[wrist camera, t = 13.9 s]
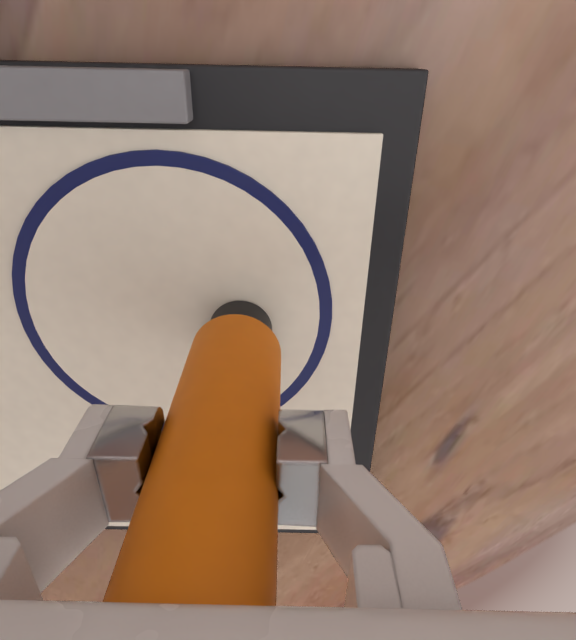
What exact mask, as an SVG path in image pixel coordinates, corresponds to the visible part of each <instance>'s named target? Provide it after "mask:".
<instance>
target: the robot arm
mask: <svg viewBox="0 0 576 640" xmlns="http://www.w3.org/2000/svg"><path fill="white" fill-rule="evenodd" d="M164 422H165V419H164V413H163V409H162V408H161V407H155V406H132V405H101V404H93V405H91V406H90V407H89V408H88V409H87V410H86V412H85V414H84V415H83V417H82V419H81V420H80V422H79V424H78V425H77V427H76V429H75V430H74V432H73V434H72V436H71V437H70V439H69V441H68V442H67V444H66V446H65V447H64V449H63V451H62V452H61V454H60V456H59V457H58V458H50V459H49V460H47V461H46V462H44V463H42V464H41V465H39V466H38V467H36V468H35V469H33V470H31V471H30V472H28V473H27V474H25V475H24V476H22V477H21V478H19V479H17V480H16V481H14V482H13V483H11V484H10V485H8V486H6V487H5V488H3V489H2V490H0V640H576V613H573V612H571V613H570V612H528V611H485V610H483V611H482V610H462V607H461V604H460V600H459V597H458V594H457V590H456V587H455V584H454V581H453V577H452V574H451V571H450V567H449V564H448V561H447V558H446V554H445V551H444V548H443V545H442V544H441V543H440V542H439V541H438V540H437V539H436V538H435V537H434V536H433V535H432V534H431V533H430V532H429V531H428V530H427V529H426V528H425V527H424V526H423V525H422V524H421V523H420V522H419V521H418V520H417V519H416V518H415V517H414V516H413V515H412V514H411V513H410V512H409V511H408V510H407V509H406V508H405V507H404V506H403V505H402V504H401V503H400V502H399V501H398V500H397V499H396V498H395V497H394V496H393V495H392V494H391V493H390V492H389V491H388V490H387V489H386V488H385V487H384V486H383V485H382V484H381V483H380V482H379V481H378V480H377V479H376V478H375V477H374V476H373V475H372V474H371V473H370V472H369V471H368V470H367V469H366V468H365V467H364V466H363V465H356V464H355V457H354V451H353V444H352V438H351V431H350V425H349V418H348V412H347V411H346V410H282V409H279V414H278V437H277V463H276V487H277V488H278V525H288V526H308V527H316V530H317V531H318V533H319V534H320V536H321V537H322V539H323V541H324V542H325V544H326V545H327V547H328V548H329V550H330V551H331V553H332V554H333V556H334V558H335V559H336V561H337V562H338V564H339V565H340V567H341V568H342V570H343V572H344V573H345V575H346V576H347V578H348V582H347V589H346V597H345V604H344V607H306V606H259V605H212V604H170V603H127V602H84V601H43V598H42V596H41V592H42V591H43V590H44V589H45V588H46V587H47V586H48V585H49V584H50V583H51V582H52V581H53V580H54V579H55V578H56V577H57V576H58V575H59V574H60V573H61V572H62V571H63V570H64V569H65V568H66V567H67V566H68V565H69V564H70V563H71V562H72V561H73V560H74V559H75V558H76V557H77V556H78V555H79V554H80V553H81V552H82V551H83V550H84V549H85V548H86V547H87V546H88V545H89V544H90V543H91V542H92V541H93V540H94V539H95V538H96V537H97V536H98V535H99V534H100V533H101V532H102V531H103V530H104V529H105V528H106V527H107V526H108V525H109V522H130V521H131V519H132V516H133V513H134V510H135V507H136V504H137V501H138V498H139V496H140V493H141V490H142V487H143V484H144V481H145V478H146V475H147V472H148V470H149V467H150V464H151V461H152V458H153V455H154V452H155V449H156V446H157V444H158V441H159V438H160V435H161V432H162V428H163V425H164Z"/></svg>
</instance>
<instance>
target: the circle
mask: <svg viewBox="0 0 576 640" xmlns="http://www.w3.org/2000/svg"><path fill="white" fill-rule="evenodd" d="M12 286H13V295H14V300H15V304H16V308H17V312H18V315H19V318H20V320H21V323H22V326H23V328H24V331H25V333H26V334H27V336H28V338H29V340H30V342H31V344H32V346H33V347H34V349H35V350H36V352H37V353H38V355H39V356H40V357H41V359H42V360H43V362H44V363H45V364H46V365H47V366H48V368H49V369H50V370H51V371H52V372H53V373H54V374H55V376H56V377H58V378H59V379H60V380H61V381H62V382H63V383H64V384H65V385H66V386H67V387H68V388H69V389H71V390H72V391H73V392H75V393H76V394H77V395H79V396H80V397H81V398H83V399H84V400H85V401H87V402H89V403H90V404H92V405H93V404H101V405H132V406H155V407H161V408H162V409H163V413H164V419H165V420H166V418H167V415H168V412H169V409H170V406H171V403H172V400H173V397H174V394H175V392H176V389H177V386H178V383H179V380H180V377H181V374H182V371H183V369H184V366H185V363H186V360H187V357H188V354H189V351H190V348H191V345H192V343H193V340H194V337H195V335H196V333H197V332H198V331H199V329H200V328H201V327H202V326H203V325H204V324H206V323H207V322H208V321H210V320H211V317H212V315H213V314H214V312H215V311H216V310H217V309H218V308H219V307H220V306H222V305H224V304H226V303H228V302H232V301H248V302H251V303H254V304H256V305H257V306H259V307H260V308H262V309H263V310H264V311H265V312H266V313H267V315H268V316H269V318H270V320H271V324H272V331H273V333H274V334H275V336H276V337H277V339H278V341H279V344H280V348H281V386H280V407H281V406H282V405H284V404H285V403H286V402H288V401H289V400H290V399H291V398H292V397H293V396H295V395H296V394H297V393H298V392H299V391H300V389H301V388H302V387H303V386H304V385H305V384H306V383H307V382H308V380H309V379H310V377H311V376H312V374H313V373H314V371H315V370H316V368H317V367H318V365H319V362H320V360H321V358H322V356H323V354H324V352H325V349H326V345H327V342H328V339H329V336H330V329H331V322H332V296H331V289H330V282H329V278H328V275H327V271H326V268H325V265H324V261H323V259H322V257H321V255H320V253H319V250H318V248H317V246H316V244H315V242H314V240H313V239H312V237H311V236H310V234H309V233H308V231H307V229H306V228H305V226H304V225H303V223H302V222H301V221H300V220H299V219H298V217H297V216H296V215H295V214H294V213H293V212H292V210H291V209H290V208H289V207H288V206H287V205H286V204H285V203H284V202H283V201H282V200H280V199H279V198H278V197H277V196H276V195H275V194H274V193H273V192H272V191H270V190H269V189H267V188H266V187H265V186H263V185H262V184H260V183H259V182H257V181H256V180H254V179H253V178H252V177H250V176H248V175H246V174H244V173H242V172H240V171H238V170H236V169H234V168H233V167H231V166H229V165H226V164H223V163H220V162H218V161H215V160H212V159H209V158H207V157H203V156H198V155H194V154H190V153H185V152H180V151H168V150H157V149H156V150H135V151H128V152H123V153H118V154H112V155H108V156H105V157H102V158H100V159H97V160H94V161H91V162H88V163H86V164H84V165H82V166H81V167H79V168H77V169H75V170H73V171H71V172H70V173H68V174H66V175H65V176H64V177H62V178H61V179H60V180H58V181H57V182H56V183H55V184H53V185H52V186H51V187H50V188H49V189H48V190H47V191H46V192H45V193H44V194H43V195H42V196H41V197H40V198H39V200H38V201H37V202H36V203H35V205H34V206H33V208H32V209H31V211H30V212H29V214H28V215H27V217H26V218H25V221H24V223H23V225H22V228H21V230H20V232H19V235H18V237H17V241H16V245H15V250H14V254H13V263H12ZM164 423H165V422H164ZM163 426H164V425H163ZM162 429H163V428H162Z"/></svg>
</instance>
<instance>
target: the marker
mask: <svg viewBox="0 0 576 640" xmlns="http://www.w3.org/2000/svg"><path fill="white" fill-rule="evenodd" d="M280 386H281V348H280V344H279V341H278V339H277V337H276V336H275V334H274V333H273V331H272V324H271V320H270V318H269V316H268V315H267V313H266V312H265V311H264V310H263V309H262V308H260V307H259V306H257V305H256V304H254V303H251V302H248V301H232V302H228V303H226V304H224V305H222V306H220V307H219V308H218V309H217V310H216V311H215V312H214V314H213V315H212V317H211V320H210V321H208V322H207V323H206V324H204V325H203V326H202V327H201V328H200V329H199V331H198V332H197V333H196V335H195V337H194V340H193V343H192V345H191V348H190V351H189V354H188V357H187V360H186V363H185V366H184V369H183V371H182V374H181V377H180V380H179V383H178V386H177V389H176V392H175V394H174V397H173V400H172V403H171V406H170V409H169V412H168V415H167V418H166V420H165V423H164V426H163V429H162V432H161V435H160V438H159V441H158V444H157V446H156V449H155V452H154V455H153V458H152V461H151V464H150V467H149V470H148V472H147V475H146V478H145V481H144V484H143V487H142V490H141V493H140V496H139V498H138V501H137V504H136V507H135V510H134V513H133V516H132V519H131V521H130V524H129V527H128V530H127V533H126V536H125V539H124V542H123V545H122V547H121V550H120V553H119V556H118V559H117V562H116V565H115V568H114V571H113V573H112V576H111V579H110V582H109V585H108V588H107V591H106V594H105V597H104V599H103V602H127V603H170V604H212V605H259V606H276V589H277V538H278V488H277V487H276V463H277V437H278V414H279V409H280Z"/></svg>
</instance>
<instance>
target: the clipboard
mask: <svg viewBox="0 0 576 640" xmlns="http://www.w3.org/2000/svg"><path fill="white" fill-rule="evenodd" d="M427 78H428V70H426V69H401V68H353V67H305V66H257V65H209V64H161V63H113V62H65V61H17V60H0V490H2V489H3V488H5V487H6V486H8V485H10V484H11V483H13V482H14V481H16V480H17V479H19V478H21V477H22V476H24V475H25V474H27V473H28V472H30V471H31V470H33V469H35V468H36V467H38V466H39V465H41V464H42V463H44V462H46V461H47V460H49V459H50V458H58V457H59V456H60V454H61V452H62V451H63V449H64V447H65V446H66V444H67V442H68V441H69V439H70V437H71V436H72V434H73V432H74V430H75V429H76V427H77V425H78V424H79V422H80V420H81V419H82V417H83V415H84V414H85V412H86V410H87V409H88V408H89V407H90V406H91V405H92V404H90V403H89V402H87V401H85V400H84V399H83V398H81V397H80V396H79V395H77V394H76V393H75V392H73V391H72V390H71V389H69V388H68V387H67V386H66V385H65V384H64V383H63V382H62V381H61V380H60V379H59V378H58V377H56V376H55V374H54V373H53V372H52V371H51V370H50V369H49V368H48V366H47V365H46V364H45V363H44V362H43V360H42V359H41V357H40V356H39V355H38V353H37V352H36V350H35V349H34V347H33V346H32V344H31V342H30V340H29V338H28V336H27V334H26V333H25V331H24V328H23V326H22V323H21V320H20V318H19V315H18V312H17V308H16V304H15V300H14V295H13V286H12V263H13V254H14V250H15V245H16V241H17V237H18V235H19V232H20V230H21V228H22V225H23V223H24V221H25V218H26V217H27V215H28V214H29V212H30V211H31V209H32V208H33V206H34V205H35V203H36V202H37V201H38V200H39V198H40V197H41V196H42V195H43V194H44V193H45V192H46V191H47V190H48V189H49V188H50V187H51V186H52V185H53V184H55V183H56V182H57V181H58V180H60V179H61V178H62V177H64V176H65V175H66V174H68V173H70V172H71V171H73V170H75V169H77V168H79V167H81V166H82V165H84V164H86V163H88V162H91V161H94V160H97V159H100V158H102V157H105V156H108V155H112V154H118V153H123V152H128V151H135V150H156V149H157V150H168V151H180V152H185V153H190V154H194V155H198V156H203V157H207V158H209V159H212V160H215V161H218V162H220V163H223V164H226V165H229V166H231V167H233V168H234V169H236V170H238V171H240V172H242V173H244V174H246V175H248V176H250V177H252V178H253V179H254V180H256V181H257V182H259V183H260V184H262V185H263V186H265V187H266V188H267V189H269V190H270V191H272V192H273V193H274V194H275V195H276V196H277V197H278V198H279V199H280V200H282V201H283V202H284V203H285V204H286V205H287V206H288V207H289V208H290V209H291V210H292V212H293V213H294V214H295V215H296V216H297V217H298V219H299V220H300V221H301V222H302V223H303V225H304V226H305V228H306V229H307V231H308V233H309V234H310V236H311V237H312V239H313V240H314V242H315V244H316V246H317V248H318V250H319V253H320V255H321V257H322V259H323V261H324V265H325V268H326V271H327V275H328V278H329V282H330V289H331V296H332V322H331V329H330V336H329V339H328V342H327V345H326V349H325V352H324V354H323V356H322V358H321V360H320V362H319V365H318V367H317V368H316V370H315V371H314V373H313V374H312V376H311V377H310V379H309V380H308V382H307V383H306V384H305V385H304V386H303V387H302V388H301V389H300V391H299V392H298V393H297V394H296V395H295V396H293V397H292V398H291V399H290V400H289V401H288V402H286V403H285V404H284V405H282V406H281V407H280V409H282V410H346V411H347V412H348V418H349V425H350V431H351V438H352V444H353V451H354V457H355V464H356V465H363V466H364V467H365V468H366V469H367V470H368V471H369V472H370V468H371V461H372V454H373V447H374V440H375V434H376V427H377V420H378V413H379V406H380V399H381V393H382V386H383V379H384V372H385V365H386V358H387V352H388V345H389V338H390V331H391V324H392V317H393V311H394V304H395V297H396V290H397V283H398V276H399V270H400V263H401V256H402V249H403V242H404V236H405V229H406V222H407V215H408V208H409V201H410V195H411V188H412V181H413V174H414V167H415V160H416V154H417V147H418V140H419V133H420V126H421V119H422V113H423V106H424V99H425V92H426V85H427ZM129 524H130V522H109V525H108V526H107V527H106V528H105V529H128V527H129ZM278 532H290V533H318V531H317V530H316V527H308V526H288V525H278Z"/></svg>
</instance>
